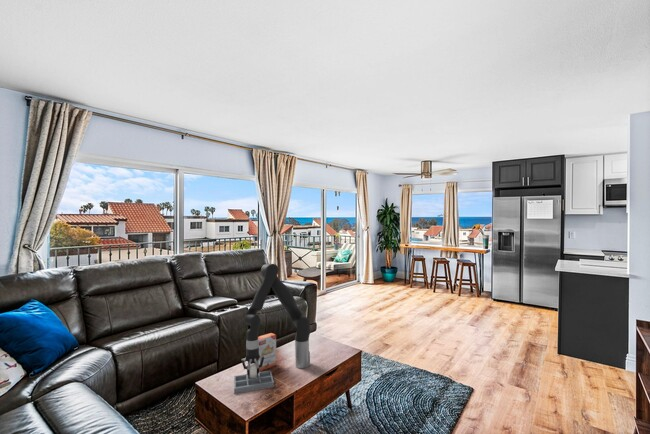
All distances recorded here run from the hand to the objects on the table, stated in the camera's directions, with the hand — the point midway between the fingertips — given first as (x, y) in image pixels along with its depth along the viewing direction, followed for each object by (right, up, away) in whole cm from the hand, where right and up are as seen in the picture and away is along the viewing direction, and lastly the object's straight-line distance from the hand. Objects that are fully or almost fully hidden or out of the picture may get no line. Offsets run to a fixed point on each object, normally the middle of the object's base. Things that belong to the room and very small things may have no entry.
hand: (253, 374), depth 194 cm
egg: (0, -2, 0) cm, 2 cm away
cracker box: (+4, -4, +17) cm, 18 cm away
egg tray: (+1, -4, -3) cm, 5 cm away
